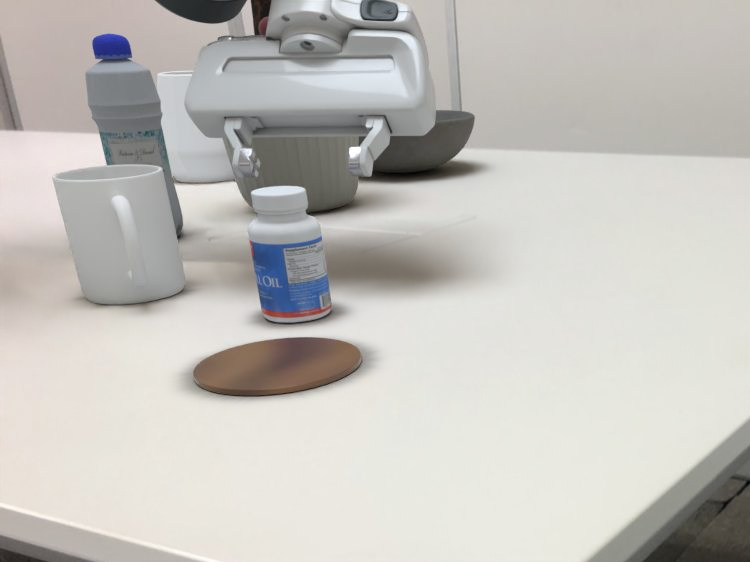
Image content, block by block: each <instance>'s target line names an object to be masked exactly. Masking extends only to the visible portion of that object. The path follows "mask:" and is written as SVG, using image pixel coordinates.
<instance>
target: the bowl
mask: <svg viewBox="0 0 750 562" xmlns="http://www.w3.org/2000/svg"><path fill="white" fill-rule="evenodd" d="M475 120H476V118H475V115H474V113H472V112H470V111H465V110H452V109H451V110H450V109H436V119H435V125H434V127H433V128H432V129H431V130H430V131H429V132H428V133H426V134H425V135H423V136H390V142H389V145H388V146H387V147H386V149H385V150H384V151H383V152H382V153H381V154H380V155H379V156H378V158H377V159H376V160H374V161H373V169H372V171H375V172H380V173H389V174H409V173H419V172H425V171H431V170H433V169H436V168H439V167H441V166H443V165H445V164H446V163H448V162H450V161H451V160H453V159H454V158H455V157H457V155H459V154H460V152H461V151H462V150H463V149H464V147H466V144H468V141H469V139H470V137H471V134H472V132H473V129H474V126H475ZM366 137H367V136H359V147H360V145H361V144H362V142H363V141H364V139H365V138H366Z"/></svg>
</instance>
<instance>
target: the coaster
mask: <svg viewBox="0 0 750 562" xmlns="http://www.w3.org/2000/svg"><path fill="white" fill-rule="evenodd" d="M361 363H362V352H361V351H360V349H359V348H358V347H357V346H355V345H354V344H352V343H351V342H347V341H344V340H339V339H335V338H329V337H328V338H327V337H316V336H315V337H314V336H313V337H312V336H298V337H282V338H271V339H265V340H260V341H254V342H249V343H244V344H241V345H236V346H233V347H230V348H227V349H224V350H220V351H218V352H216V353H214V354H211V355H209V356H207V357H205V358H204V359H203V360H201V361H199V363H197V364H196V366H195V367H194V368H193V371H192V374H193V375H192V376H193V380H194V382H195V384H196V385H197V386H199V387H200V388H202V389H204V390H206V391H209V392H212V393H217V394H221V395H228V396H229V395H230V396H247V397H249V396H271V395H280V394H281V395H282V394H288V393H293V392H300V391H305V390H310V389H313V388H317V387H320V386H324V385H328V384H330V383H333V382H336V381H338V380H340V379H343V378H345V377H346V376H348V375H351V374H352V373H353V372H354V371H356V369H358V368H359V367H360V365H361Z"/></svg>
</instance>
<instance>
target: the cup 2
mask: <svg viewBox="0 0 750 562" xmlns="http://www.w3.org/2000/svg"><path fill="white" fill-rule="evenodd" d="M193 71H194V69H193V70H175V71H162V72H158V73H157V75H156V76H157V77H156V79H157V80H156V90H157V93H158V95H159V98H160V100H161V112H162V113H163V115H162V118H161V126H162V130H163V135H164V140H165V145H166V149H167V154H168V159H169V164H170V169H171V174H172V177H173V178H174V179H175V180H176V181H177V182H181V183H190V184H191V183H192V184H197V183H198V184H203V183H204V184H205V183H207V184H208V183H217V182H218V183H219V182H229V181H234V180H235V177H234V174H233V171H232V167H231V164H230V161H229V158H228V155H227V152H226V149H225V145H224V142H223V139H222V138H208V137H206V136H205V135H204V134H203V133H202V132H201V131H200V130H199V129H198V128H197V126H196V125H195V124H194V123H193V121H192V120H191V118H190V117H189V115H188V113H187V111H186V109H185V106H184V100H185V95H186V92H187V89H188V85H189V82H190V79H191V77H192V74H193Z"/></svg>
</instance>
